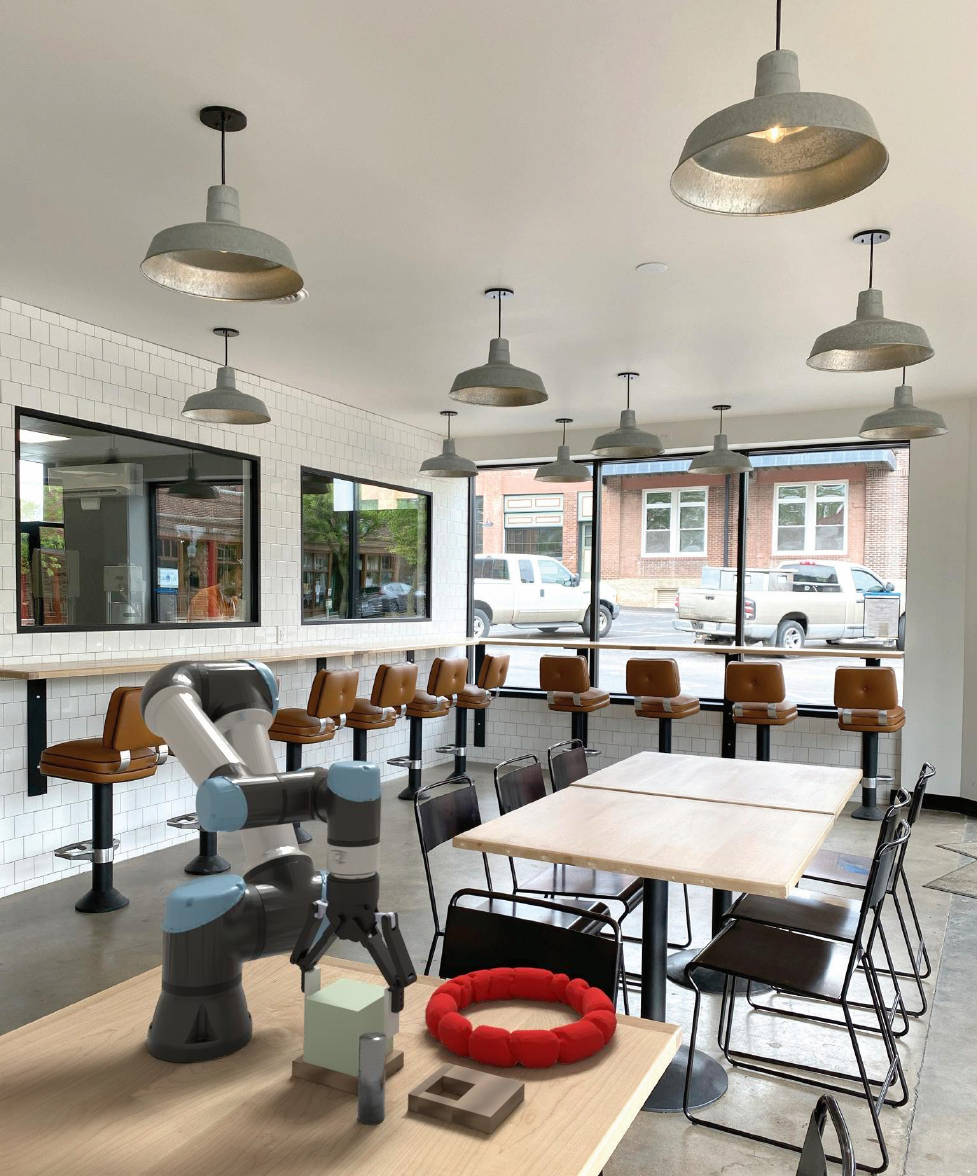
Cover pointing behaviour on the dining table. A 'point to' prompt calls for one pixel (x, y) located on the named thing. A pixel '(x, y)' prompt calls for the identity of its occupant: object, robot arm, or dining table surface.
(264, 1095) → the dining table surface
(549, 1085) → the dining table surface
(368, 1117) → the peg
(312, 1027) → the pale green cube
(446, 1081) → the square hole block
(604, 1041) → the decorative ring
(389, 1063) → the board
